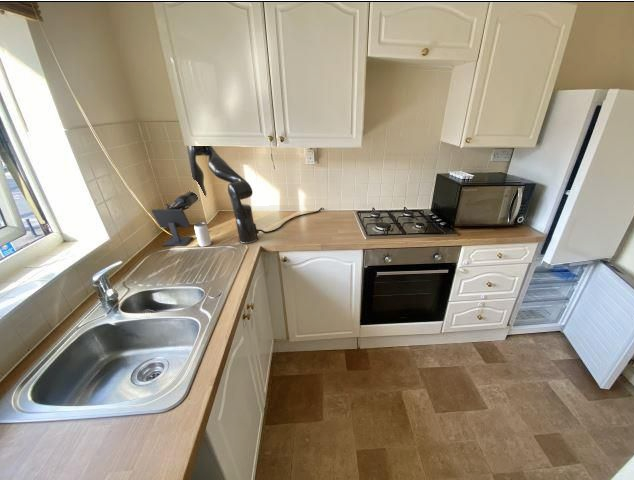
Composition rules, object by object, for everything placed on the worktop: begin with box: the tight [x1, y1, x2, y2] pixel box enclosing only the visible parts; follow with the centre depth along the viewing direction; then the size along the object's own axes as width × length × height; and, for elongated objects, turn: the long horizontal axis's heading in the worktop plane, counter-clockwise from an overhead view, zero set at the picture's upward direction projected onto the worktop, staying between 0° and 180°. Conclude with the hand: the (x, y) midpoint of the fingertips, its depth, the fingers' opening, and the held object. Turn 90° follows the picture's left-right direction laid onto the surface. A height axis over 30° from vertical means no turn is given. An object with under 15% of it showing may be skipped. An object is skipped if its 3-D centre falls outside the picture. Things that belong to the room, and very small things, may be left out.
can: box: [193, 221, 212, 248], centre depth 154 cm, size 6×6×12 cm
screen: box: [150, 208, 191, 228], centre depth 152 cm, size 1×16×11 cm, turn 92°
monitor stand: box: [162, 222, 194, 247], centre depth 156 cm, size 10×12×12 cm
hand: (168, 211), depth 150 cm, fingers closed
